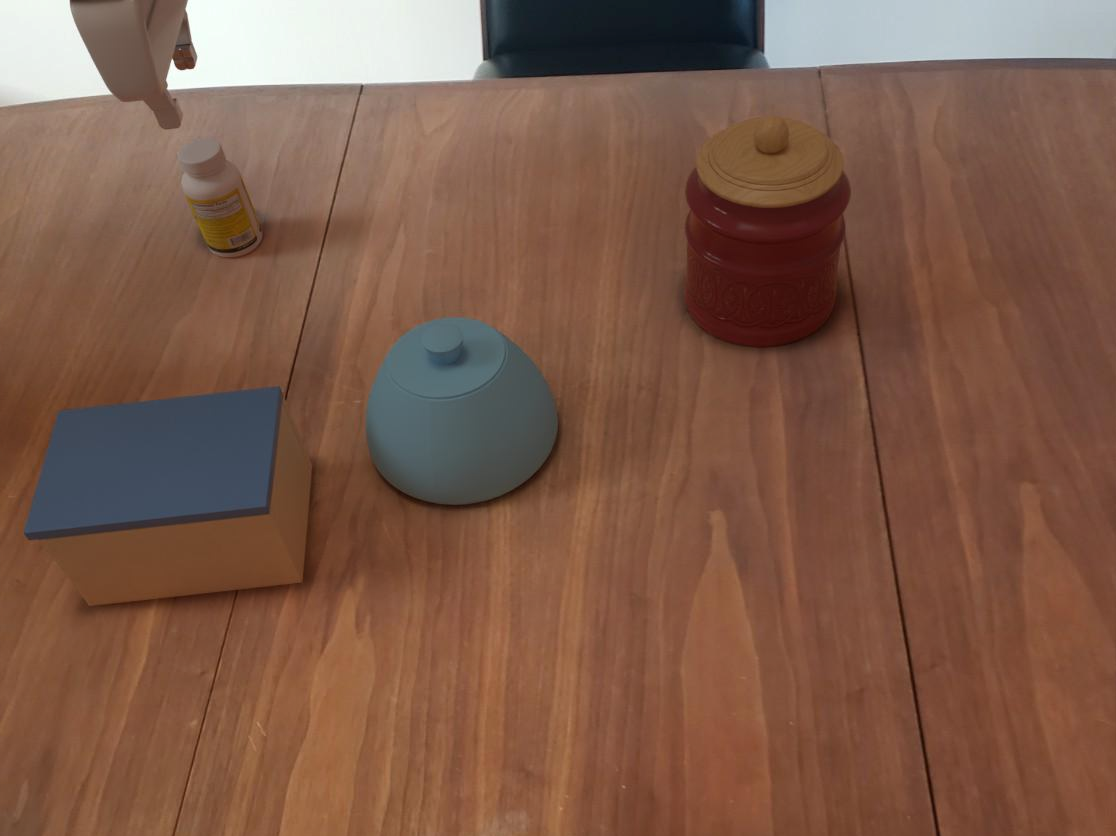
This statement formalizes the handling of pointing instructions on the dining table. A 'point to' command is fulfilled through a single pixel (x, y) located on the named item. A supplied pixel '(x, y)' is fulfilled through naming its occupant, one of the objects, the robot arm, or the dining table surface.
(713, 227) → the kitchen canister
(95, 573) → the chest
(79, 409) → the chest lid
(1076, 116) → the dining table surface
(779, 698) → the dining table surface
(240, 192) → the supplement bottle
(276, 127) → the dining table surface
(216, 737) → the dining table surface
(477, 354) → the sugar bowl
